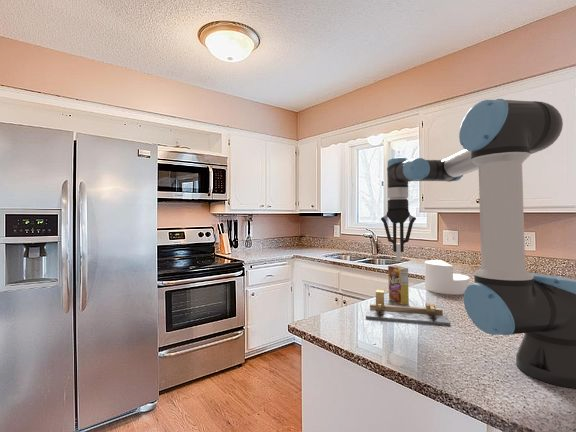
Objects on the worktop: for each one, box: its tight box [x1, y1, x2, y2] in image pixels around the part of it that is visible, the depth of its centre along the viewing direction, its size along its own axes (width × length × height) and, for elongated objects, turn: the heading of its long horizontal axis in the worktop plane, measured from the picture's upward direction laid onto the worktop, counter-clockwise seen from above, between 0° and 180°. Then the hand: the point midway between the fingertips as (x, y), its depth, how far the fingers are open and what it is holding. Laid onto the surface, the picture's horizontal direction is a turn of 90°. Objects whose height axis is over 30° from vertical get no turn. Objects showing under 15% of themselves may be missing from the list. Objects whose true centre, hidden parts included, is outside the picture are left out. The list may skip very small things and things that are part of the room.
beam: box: [369, 302, 444, 317], centre depth 122 cm, size 9×26×4 cm, turn 73°
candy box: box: [387, 264, 410, 306], centre depth 141 cm, size 9×4×15 cm, turn 17°
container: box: [424, 259, 471, 295], centre depth 163 cm, size 20×20×13 cm
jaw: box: [375, 289, 385, 313], centre depth 125 cm, size 9×3×8 cm, turn 163°
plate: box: [365, 309, 451, 327], centre depth 119 cm, size 8×28×1 cm, turn 73°
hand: (398, 260), depth 126 cm, fingers closed
